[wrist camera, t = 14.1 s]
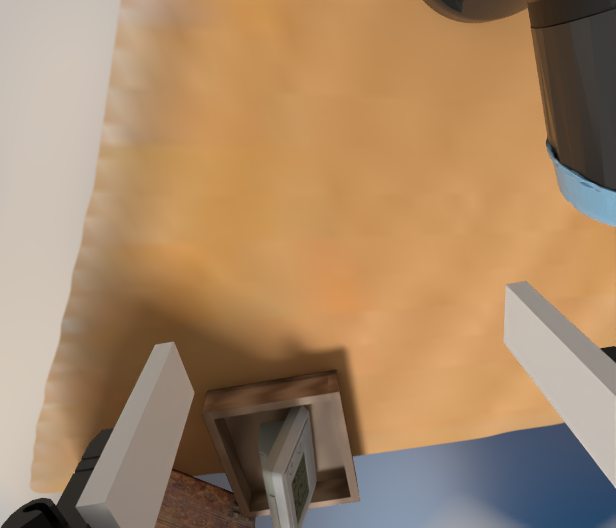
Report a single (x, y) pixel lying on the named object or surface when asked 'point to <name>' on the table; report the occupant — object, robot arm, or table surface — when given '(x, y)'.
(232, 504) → the book
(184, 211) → the table surface
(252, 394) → the brown rectangular tray
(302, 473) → the digital clock
